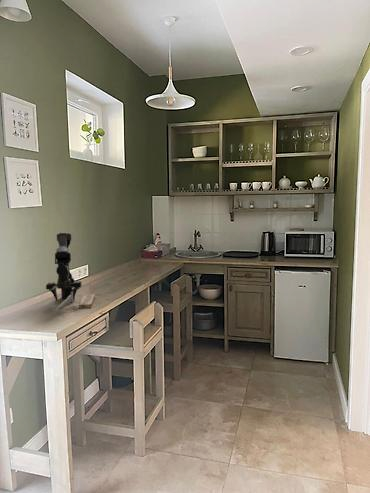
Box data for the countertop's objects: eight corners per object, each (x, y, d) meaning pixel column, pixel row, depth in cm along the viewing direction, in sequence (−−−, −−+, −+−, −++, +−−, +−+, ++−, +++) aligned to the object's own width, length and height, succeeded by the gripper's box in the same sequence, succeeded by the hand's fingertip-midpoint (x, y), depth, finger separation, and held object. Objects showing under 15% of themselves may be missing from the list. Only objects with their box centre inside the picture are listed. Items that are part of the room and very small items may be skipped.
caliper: (73, 301, 225) (72, 291, 225) (74, 301, 225) (74, 291, 225) (55, 310, 205) (54, 299, 205) (57, 310, 205) (56, 299, 205)
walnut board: (78, 308, 208) (78, 304, 207) (84, 298, 231) (83, 294, 231) (91, 307, 209) (91, 303, 208) (95, 297, 232) (94, 294, 232)
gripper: (42, 276, 204) (44, 304, 206) (78, 274, 207) (80, 302, 209) (47, 272, 215) (49, 300, 217) (81, 271, 218) (82, 298, 220)
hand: (65, 300), depth 215 cm, fingers open, 9 cm apart
